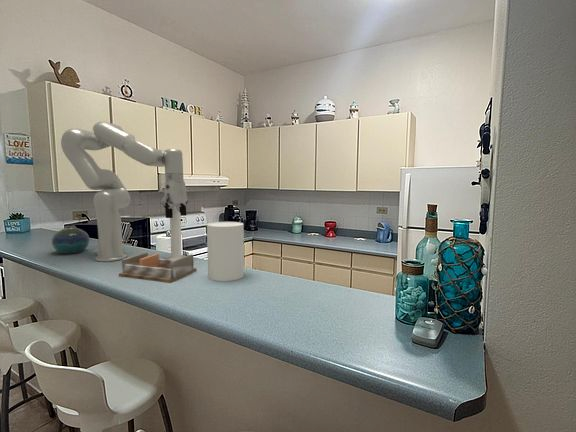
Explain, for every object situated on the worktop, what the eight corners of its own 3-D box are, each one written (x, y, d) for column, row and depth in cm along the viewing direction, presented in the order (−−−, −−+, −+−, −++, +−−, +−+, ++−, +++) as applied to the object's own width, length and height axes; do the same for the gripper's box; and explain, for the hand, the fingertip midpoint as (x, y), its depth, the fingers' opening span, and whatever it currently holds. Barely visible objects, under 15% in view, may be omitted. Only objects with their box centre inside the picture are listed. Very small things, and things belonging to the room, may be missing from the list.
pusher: (139, 272, 120) (139, 259, 120) (156, 265, 129) (156, 253, 129) (142, 272, 120) (141, 259, 119) (159, 266, 129) (158, 254, 128)
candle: (187, 258, 146) (185, 204, 144) (180, 262, 139) (179, 206, 137) (172, 258, 147) (171, 204, 144) (165, 262, 140) (163, 205, 137)
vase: (93, 252, 156) (91, 226, 155) (55, 257, 146) (53, 229, 144) (86, 247, 167) (84, 222, 166) (50, 252, 157) (48, 225, 155)
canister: (236, 282, 114) (235, 227, 111) (201, 279, 116) (200, 225, 114) (248, 271, 127) (248, 222, 124) (217, 269, 129) (216, 221, 127)
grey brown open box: (118, 276, 119) (118, 258, 118) (149, 265, 134) (148, 249, 134) (170, 282, 112) (169, 263, 112) (196, 270, 128) (195, 253, 127)
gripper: (168, 177, 130) (170, 219, 132) (193, 177, 146) (194, 214, 148) (153, 177, 132) (155, 218, 134) (179, 178, 148) (181, 214, 150)
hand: (176, 216), depth 141 cm, fingers open, 9 cm apart
